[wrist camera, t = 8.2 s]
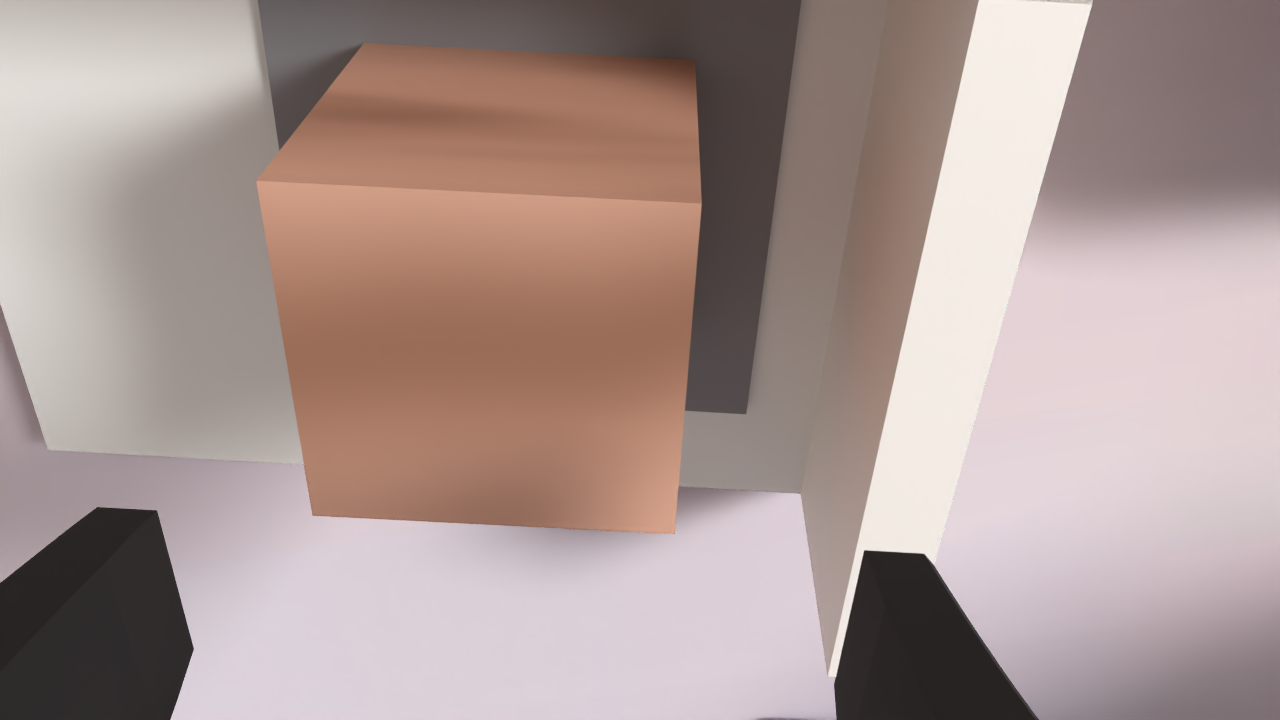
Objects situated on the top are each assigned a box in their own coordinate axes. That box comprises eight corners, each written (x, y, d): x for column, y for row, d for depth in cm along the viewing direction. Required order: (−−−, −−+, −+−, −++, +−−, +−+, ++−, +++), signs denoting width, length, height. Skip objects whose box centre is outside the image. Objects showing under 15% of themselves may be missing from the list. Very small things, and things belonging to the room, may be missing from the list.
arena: (854, 464, 22) (901, 680, 17) (71, 419, 22) (-88, 624, 17) (991, -189, 15) (1126, -118, 11) (-134, -258, 15) (-483, -216, 11)
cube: (675, 339, 19) (674, 533, 15) (392, 324, 19) (312, 515, 15) (695, 59, 16) (701, 203, 12) (364, 43, 16) (256, 180, 12)
